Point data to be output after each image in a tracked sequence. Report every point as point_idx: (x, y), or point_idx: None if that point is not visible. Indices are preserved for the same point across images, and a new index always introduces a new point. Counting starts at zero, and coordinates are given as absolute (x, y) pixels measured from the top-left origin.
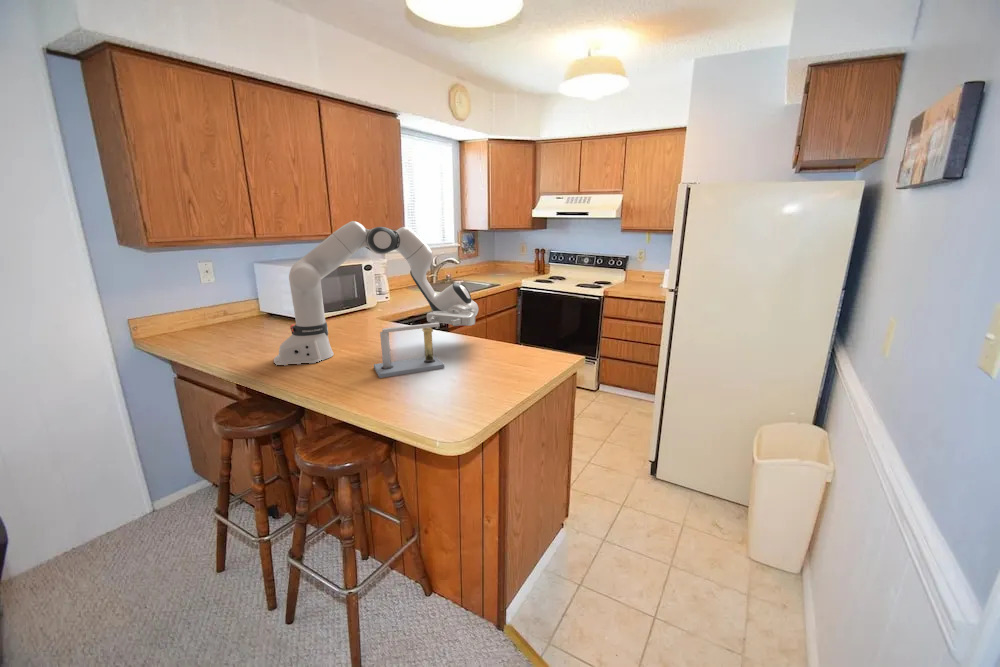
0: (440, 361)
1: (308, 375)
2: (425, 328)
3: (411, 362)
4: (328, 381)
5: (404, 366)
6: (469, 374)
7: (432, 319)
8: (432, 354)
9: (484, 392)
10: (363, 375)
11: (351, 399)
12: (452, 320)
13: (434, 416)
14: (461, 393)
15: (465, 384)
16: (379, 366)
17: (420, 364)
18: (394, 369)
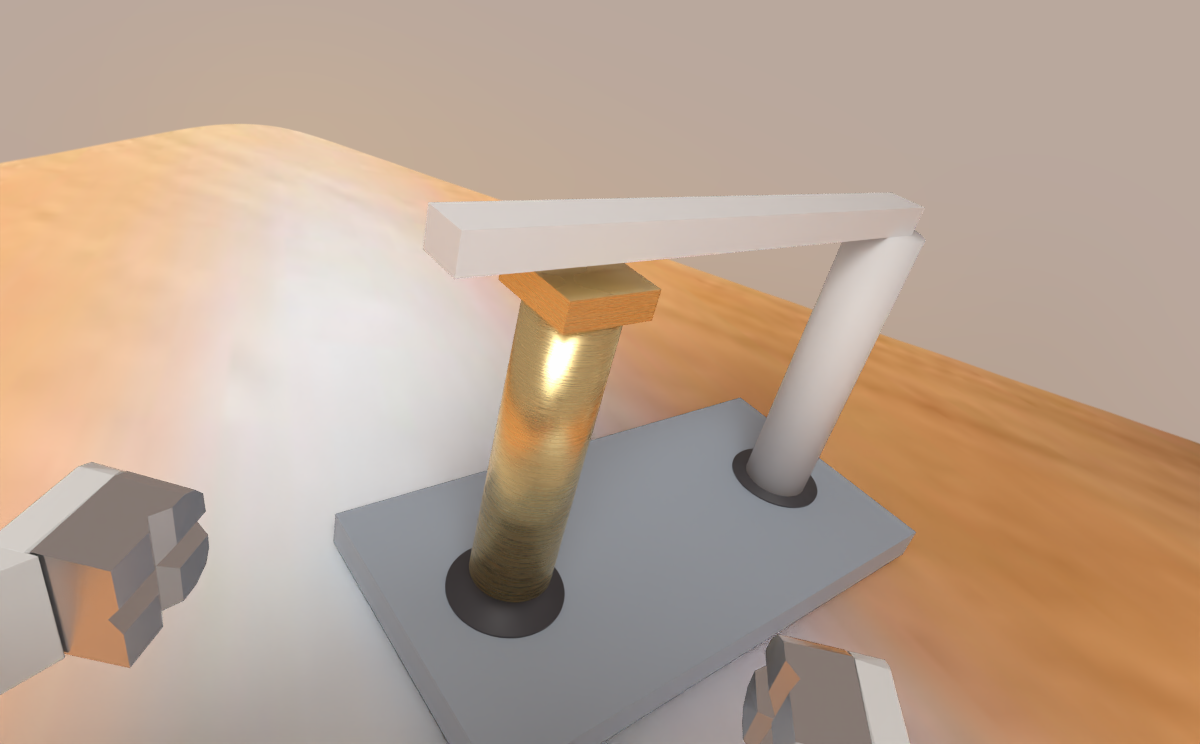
0: (383, 580)
1: (1113, 477)
2: (612, 276)
3: (662, 559)
4: (940, 414)
5: (666, 485)
6: (92, 433)
7: (797, 641)
8: (477, 522)
9: (66, 251)
10: (855, 462)
11: (690, 290)
12: (129, 507)
13: (333, 185)
14: (210, 261)
15: (166, 322)
16: (839, 494)
17: None
18: (700, 446)
